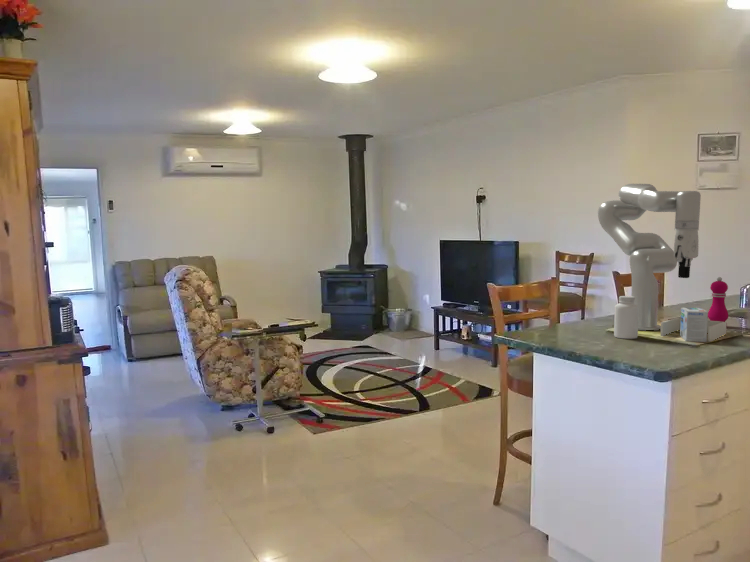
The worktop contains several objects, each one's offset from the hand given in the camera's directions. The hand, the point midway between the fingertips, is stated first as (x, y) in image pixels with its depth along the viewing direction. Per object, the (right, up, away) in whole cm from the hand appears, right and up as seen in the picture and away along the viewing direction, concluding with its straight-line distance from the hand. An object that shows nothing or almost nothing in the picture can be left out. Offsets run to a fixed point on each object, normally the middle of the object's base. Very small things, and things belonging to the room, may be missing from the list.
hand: (683, 277), depth 206 cm
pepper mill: (+27, -20, +26) cm, 42 cm away
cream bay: (+7, -21, +6) cm, 23 cm away
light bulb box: (+3, -22, 0) cm, 22 cm away
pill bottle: (-19, -22, +4) cm, 29 cm away
